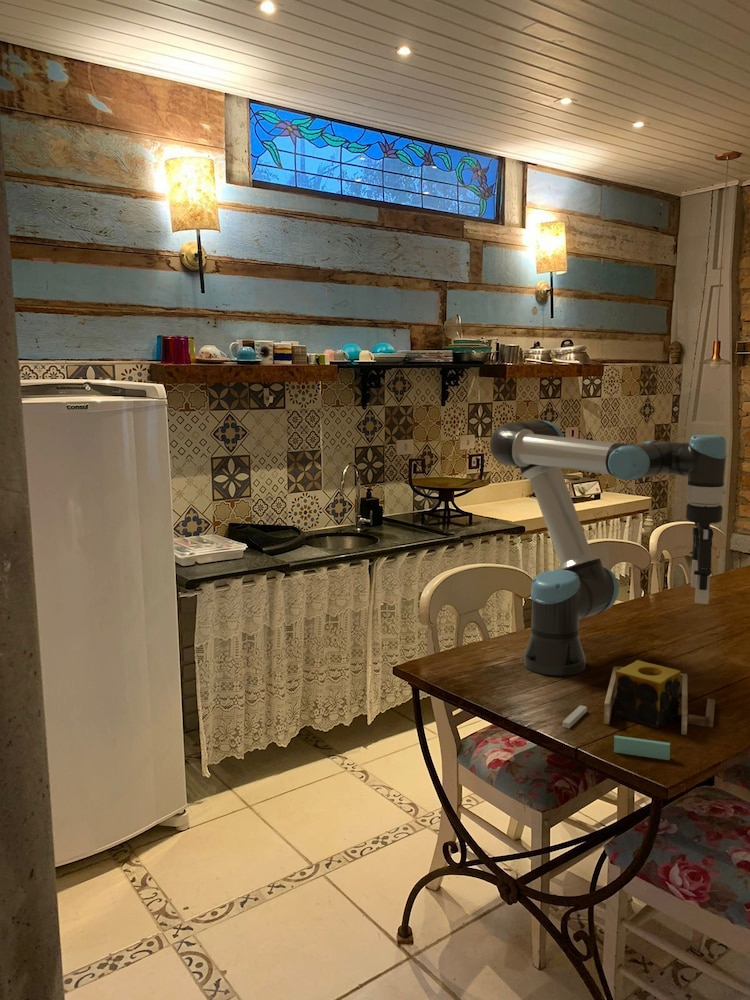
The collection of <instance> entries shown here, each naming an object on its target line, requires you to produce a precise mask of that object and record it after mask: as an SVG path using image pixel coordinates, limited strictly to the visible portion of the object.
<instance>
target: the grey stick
mask: <svg viewBox="0 0 750 1000" xmlns="http://www.w3.org/2000/svg"><path fill="white" fill-rule="evenodd" d="M587 712H588V706H585V705H581V704H580V705H579V706H577V707H576V708H575V710H574V711H572V712H571V713H570V714H569V715H568V716H567V717H566V718H565V719H564V720H563V721H562V724H561V725H562V728H565V729H570V728H572V726H574V725H575V724H576V723H577V722H578V721H579V720H580V719H581V718H582V717H583V716H584V715H585V714H586V713H587Z"/></svg>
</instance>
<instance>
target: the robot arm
mask: <svg viewBox="0 0 750 1000" xmlns="http://www.w3.org/2000/svg"><path fill="white" fill-rule="evenodd" d="M489 449H490V453H491V455H492V457H493V458H494V459H495V460H496V462H498V463H499V464H501V465H503V466H506V467H507V466H509V467H518V468H519V470H520V473H521V475H522V477H524V478H526V479H528V480H529V481H530V484H531V487H532V489H533V492H534V496H535V497H536V501H537V504H538V506H539V509H540V511H541V514H542V517H543V520H544V523H545V526H546V529H547V531H548V533H549V537H550V540H551V543H552V544H553V547H554V551H555V553H556V556H557V559H558V561H559V565H558V567H557V569H555V570H546V571H544V572H541V573H539V574H537V575H536V576H534V577H533V579H532V581H531V590H530V597H531V601H530V602H531V603H530V606H531V607H530V608H531V611H530V613H531V614H530V617H531V619H530V620H531V622H530V624H531V625H530V628H531V629H530V631H531V632H530V633H531V634H530V636H529V639H528V643H527V646H526V648H525V650H524V655H523V665H524V667H525V668H527V670H529V671H532V672H534V673H537V674H541V675H546V676H547V675H548V676H558V677H559V676H561V677H562V676H572V675H578V674H579V673H581V672H583V671H585V669H586V655H585V653H584V652H585V651H584V650H583V647H582V643H581V641H580V637H579V636H580V633H579V632H580V631H579V630H580V629H579V628H580V620H581V619H585V618H588V617H591V616H594V615H599V614H602V613H603V612H605V611H607V610H608V609H610V608H612V607H613V606H614V604H615V603H616V601H617V598H618V597H619V593H620V592H619V581H618V579H617V576H616V575H615V574H614V572H613V571H612V570H611V569H609V568H608V567H606V566H603V564H602V561H601V558H600V556H598V555H595V554H593V553H592V551H591V548H590V545H589V542H588V540H587V537H586V535H585V532H584V529H583V526H582V524H581V521H580V519H579V516H578V513H577V509H576V507H575V504H574V501H573V499H572V497H571V493H570V491H569V489H568V485H567V482H566V480H565V477H564V474H563V471H562V469H563V470H564V469H565V470H573V471H579V472H580V471H581V472H586V473H587V472H588V473H595V474H601V475H602V474H603V475H609V476H614V477H615V478H617V479H618V480H621V481H636V480H638V479H644V478H649V477H655V476H662V475H674V476H685V477H686V476H687V487H686V488H687V489H686V501H687V502H688V503H687V504H686V508H685V509H686V510H685V513H686V514H685V520H686V521H688V522H692V523H694V527H693V528H692V551H691V557H692V559H691V560H692V561H691V573H690V574H691V576H690V588H694V589H695V593H694V595H695V597H694V603H695V604H702V605H709V598H710V585H711V584H710V583H711V582H710V580H711V575H712V574H713V573H712V546H713V537H714V530H713V528H711V524H718V523H722V520H723V506H722V505H721V504H722V503H723V500H724V496H723V495H726V494H727V490H726V489H724V486H725V473H726V472H725V470H726V460H727V457H728V456H727V440H726V438H725V437H724V436H723V435H720V434H719V435H717V434H694V435H692V436H691V437H690V440H689V442H675V441H663V440H660V439H659V440H647V441H644V442H643V443H642V444H631V443H621V442H611V441H601V440H594V439H583V438H574V437H566V436H564V433H563V432H562V430H561V428H560V427H558V425H557V424H555V423H554V422H551V421H548V420H541V419H534V420H526V421H510V422H509V421H508V422H506V423H503V424H501V425H500V426H498V427H497V428H496V429H494V431H493V433H492V435H491V436H490V440H489Z"/></svg>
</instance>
